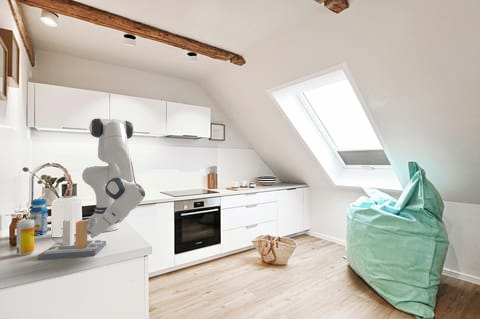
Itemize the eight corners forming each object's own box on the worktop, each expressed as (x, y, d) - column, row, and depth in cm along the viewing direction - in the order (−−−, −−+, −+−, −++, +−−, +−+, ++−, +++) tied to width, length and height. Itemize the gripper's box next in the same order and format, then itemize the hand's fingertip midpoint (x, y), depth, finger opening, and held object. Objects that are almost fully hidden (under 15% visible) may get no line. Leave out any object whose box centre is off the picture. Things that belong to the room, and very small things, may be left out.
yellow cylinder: (37, 252, 116) (37, 219, 116) (23, 256, 110) (23, 222, 110) (27, 251, 117) (27, 218, 118) (12, 255, 112) (13, 221, 112)
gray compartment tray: (106, 244, 126) (106, 216, 126) (95, 255, 111) (95, 223, 111) (56, 248, 121) (56, 218, 122) (38, 259, 107) (38, 226, 107)
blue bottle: (50, 233, 147) (50, 199, 148) (32, 237, 140) (32, 201, 141) (44, 231, 152) (44, 198, 153) (26, 234, 145) (27, 199, 146)
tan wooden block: (87, 246, 116) (87, 220, 117) (83, 249, 112) (83, 222, 112) (80, 246, 116) (80, 220, 116) (75, 250, 111) (75, 222, 112)
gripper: (116, 205, 127) (95, 226, 125) (103, 213, 107) (77, 238, 105) (126, 214, 128) (105, 234, 126) (114, 223, 108) (89, 248, 105)
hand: (92, 236), depth 115 cm, fingers closed
